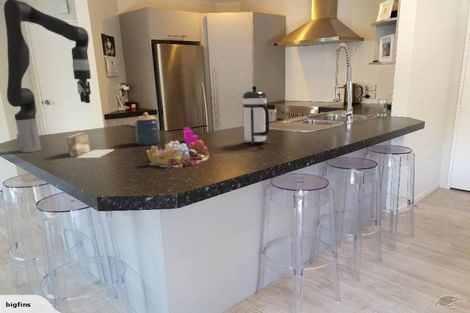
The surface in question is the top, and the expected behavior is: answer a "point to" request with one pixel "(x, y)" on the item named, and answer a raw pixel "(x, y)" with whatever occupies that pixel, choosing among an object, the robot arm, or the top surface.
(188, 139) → the toy block
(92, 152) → the mat
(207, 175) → the top surface
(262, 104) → the coffee press
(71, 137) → the birch tile
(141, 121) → the canister
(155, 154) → the candy landscape model
